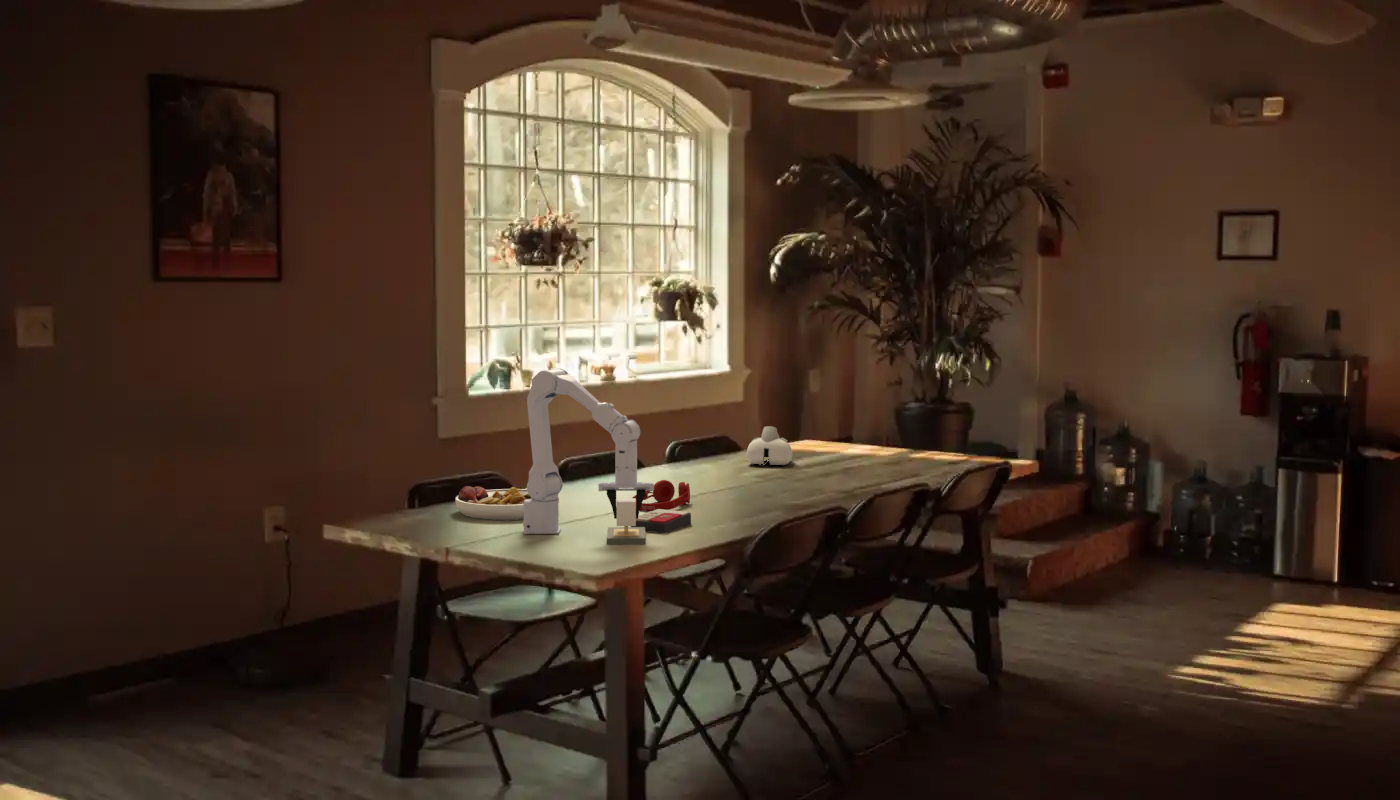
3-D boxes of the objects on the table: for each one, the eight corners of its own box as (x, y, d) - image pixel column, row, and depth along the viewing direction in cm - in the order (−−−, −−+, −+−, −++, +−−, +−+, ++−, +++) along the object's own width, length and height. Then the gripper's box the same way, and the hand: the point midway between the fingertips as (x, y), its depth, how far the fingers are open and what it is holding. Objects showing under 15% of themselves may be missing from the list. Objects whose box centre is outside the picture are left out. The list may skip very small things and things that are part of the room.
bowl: (566, 505, 413) (566, 480, 412) (549, 523, 383) (549, 495, 382) (468, 504, 415) (468, 478, 414) (444, 521, 385) (444, 494, 384)
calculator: (629, 517, 372) (657, 506, 385) (630, 533, 373) (657, 521, 386) (664, 521, 367) (691, 510, 380) (665, 536, 367) (691, 525, 381)
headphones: (660, 498, 423) (623, 516, 407) (659, 476, 422) (621, 493, 406) (700, 502, 415) (664, 521, 399) (699, 480, 414) (662, 498, 398)
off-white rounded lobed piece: (814, 465, 504) (814, 425, 502) (764, 470, 491) (765, 429, 489) (777, 458, 522) (778, 420, 520) (729, 463, 509) (729, 424, 508)
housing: (616, 526, 355) (616, 503, 355) (617, 520, 363) (616, 498, 363) (635, 526, 355) (635, 503, 355) (635, 520, 363) (635, 498, 363)
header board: (606, 544, 352) (606, 525, 351) (607, 532, 367) (607, 514, 367) (645, 544, 352) (645, 524, 352) (645, 532, 368) (645, 514, 367)
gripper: (598, 469, 354) (598, 520, 355) (654, 468, 354) (653, 520, 356) (598, 465, 361) (599, 516, 362) (653, 465, 361) (653, 515, 363)
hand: (626, 518), depth 359 cm, fingers closed on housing, 5 cm apart
